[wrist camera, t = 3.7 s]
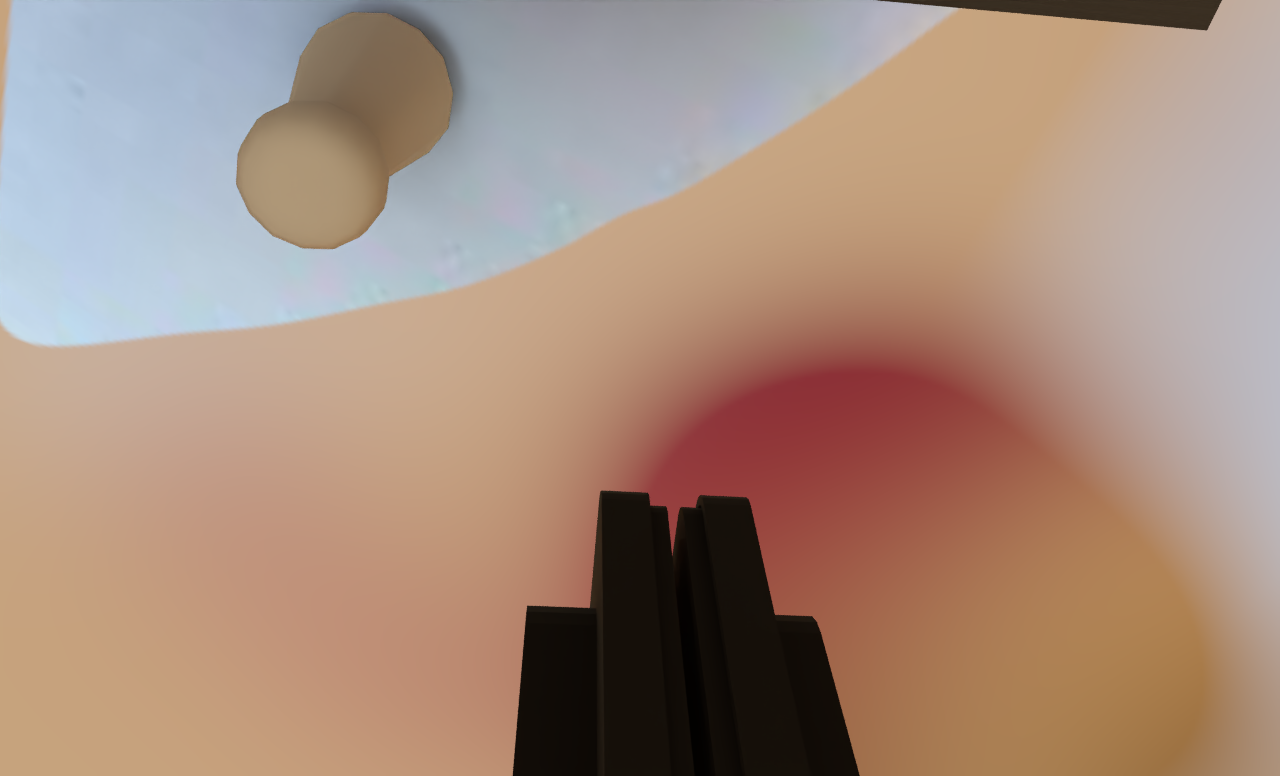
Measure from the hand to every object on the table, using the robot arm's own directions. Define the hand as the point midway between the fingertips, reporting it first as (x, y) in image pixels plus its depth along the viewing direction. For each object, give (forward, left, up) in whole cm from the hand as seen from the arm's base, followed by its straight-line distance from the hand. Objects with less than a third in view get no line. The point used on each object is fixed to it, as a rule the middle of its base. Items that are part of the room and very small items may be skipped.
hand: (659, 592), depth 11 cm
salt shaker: (+3, -9, -32) cm, 33 cm away
